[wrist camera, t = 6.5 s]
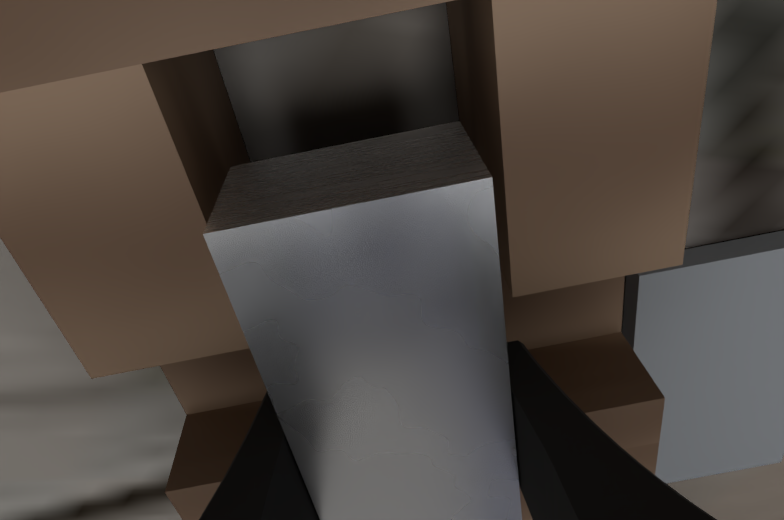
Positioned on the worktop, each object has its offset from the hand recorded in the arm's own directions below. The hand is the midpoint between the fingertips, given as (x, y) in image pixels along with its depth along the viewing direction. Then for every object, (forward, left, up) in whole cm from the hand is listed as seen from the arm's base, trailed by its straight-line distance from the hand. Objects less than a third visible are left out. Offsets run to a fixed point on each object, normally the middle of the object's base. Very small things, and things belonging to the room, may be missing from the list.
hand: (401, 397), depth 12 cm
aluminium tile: (+2, 0, -1) cm, 2 cm away
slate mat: (-6, -10, -5) cm, 13 cm away
